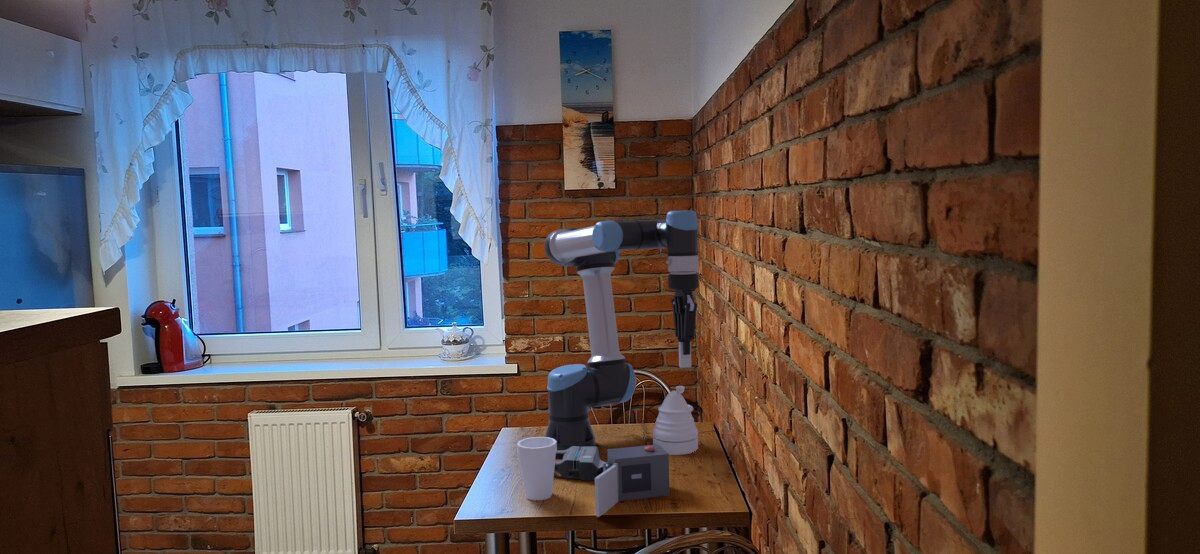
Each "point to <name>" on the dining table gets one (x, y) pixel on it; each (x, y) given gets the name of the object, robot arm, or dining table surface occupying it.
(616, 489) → the side door
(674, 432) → the honey pot
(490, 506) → the dining table surface
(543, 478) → the foam cup
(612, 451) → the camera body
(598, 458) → the camcorder
